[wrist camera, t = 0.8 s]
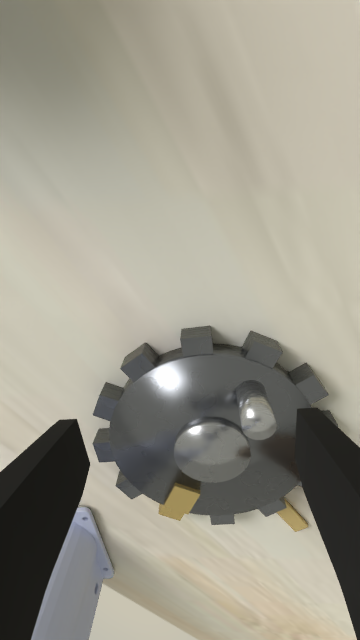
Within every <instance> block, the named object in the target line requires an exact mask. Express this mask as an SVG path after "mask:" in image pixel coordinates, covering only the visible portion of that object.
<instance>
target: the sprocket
mask: <svg viewBox="0 0 360 640" xmlns="http://www.w3.org/2000/svg"><path fill="white" fill-rule="evenodd" d="M180 340H181V346H182V348H179V349H175V350H172V351H169V352H167V353H165V354H162V355H160V356H158V355H157V354H156V353H155V352H154V351H153V350H152V349H151V348H150V347H149V345H148V344H147V343H144V344H143V345H141V346H140V347H139V348H137V349H136V350H134V351H133V352H132V353H130V354H129V355H127V356H126V357H125V359H124V361H123V363H122V366H121V368H120V369H121V370H122V371H123V372H124V373H125V374H126V375H127V376H128V377H129V378H130V379H129V381H128V382H127V384H126V385H125V386H124V388H121V387H118V386H115V385H112V384H109V383H107V382H106V383H105V385H104V387H103V389H102V391H101V393H100V396H99V399H98V401H97V404H96V407H95V410H94V413H93V415H94V416H97V417H99V418H102V419H105V420H108V421H111V422H110V428H106V429H99V430H98V432H97V434H96V437H95V439H94V442H93V446H94V449H95V452H96V455H97V457H98V460H99V462H113V461H115V462H116V464H117V466H118V467H119V469H120V472H119V475H118V479H117V482H116V487H118V488H119V489H120V490H121V491H122V492H123V493H125V494H126V495H127V496H128V497H129V498H130V499H133V498H135V497H137V496H139V495H141V494H144V495H146V496H147V497H149V498H151V499H152V500H154V501H156V502H158V503H160V506H159V514H160V515H163V516H166V517H170V518H173V519H176V520H179V521H180V520H181V518H182V517H183V515H184V513H185V514H189V513H193V514H200V515H210V518H211V524H212V525H220V524H235V522H234V514H238V513H243V512H247V511H251V510H255V509H259V510H260V511H261V512H262V513H263V514H264V515H265V516H266V517H267V516H269V515H271V514H274V513H276V512H278V511H281V510H283V509H285V508H287V507H286V503H285V499H284V495H285V494H287V493H288V492H290V491H291V490H292V489H293V488H294V487H295V486H297V485H299V486H302V483H301V480H300V476H299V472H298V468H297V465H296V461H295V439H296V418H297V409H299V408H311V406H310V405H311V404H312V403H314V402H316V401H318V400H320V399H322V398H324V397H326V396H327V395H328V393H327V391H326V390H325V388H324V387H323V385H322V383H321V382H320V380H319V379H318V378H317V376H316V375H315V374H314V372H313V371H312V370H311V368H310V367H309V366H308V364H307V363H305V364H303V365H301V366H300V367H298V368H296V369H294V370H293V371H291V372H288V371H286V370H285V369H284V368H283V367H282V366H280V365H279V364H278V363H276V362H277V360H278V359H279V357H280V356H281V354H282V350H281V348H280V346H279V344H278V342H277V341H276V340H273V339H271V338H268V337H266V336H263V335H260V334H258V333H255V332H253V331H250V333H249V335H248V337H247V339H246V341H245V342H244V344H243V346H242V347H237V346H232V345H224V344H213V343H212V335H211V327H210V326H204V327H195V328H187V329H182V330H181V338H180ZM321 412H322V413H323V414H325V415H326V416H327V417H328V418H329V419H330V420H331V421H332V422H333V423H334V424H335V425H336V426H337V427H338V424H337V423H336V421H335V419H334V417H333V416H332V414H331V412H330V411H321Z"/></svg>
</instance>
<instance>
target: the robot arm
mask: <svg viewBox="0 0 360 640" xmlns="http://www.w3.org/2000/svg"><path fill="white" fill-rule="evenodd" d="M295 461H296V465H297V468H298V472H299V476H300V480H301V483H302V487H303V490H304V493H305V495H306V498H307V501H308V503H309V506H310V508H311V511H312V514H313V516H314V519H315V521H316V524H317V526H318V529H319V531H320V534H321V536H322V539H323V542H324V544H325V547H326V549H327V552H328V554H329V557H330V559H331V562H332V564H333V567H334V569H335V572H336V575H337V578H338V580H339V583H340V586H341V589H342V592H343V595H344V598H345V601H346V604H347V608H348V611H349V614H350V617H351V621H352V624H353V627H354V631H355V634H356V637H357V640H360V448H359V447H358V446H357V445H356V444H355V443H354V442H353V441H352V440H351V439H350V438H349V437H348V436H346V435H345V434H344V433H343V432H342V431H341V430H340V429H339V428H338V427H337V426H336V425H335V424H334V423H333V422H332V421H331V420H330V419H329V418H328V417H327V416H326V415H325V414H323V413H322V412H321V411H320V410H319V409H318V408H299V409H297V418H296V439H295ZM89 467H90V462H89V458H88V455H87V452H86V448H85V445H84V442H83V438H82V435H81V432H80V428H79V425H78V422H77V419H68V420H59V421H58V422H56V423H55V424H54V425H53V426H52V427H50V428H49V429H48V430H47V431H46V432H45V433H44V434H43V435H41V436H40V437H39V438H38V439H37V440H36V441H35V442H34V443H33V444H32V445H30V446H29V447H28V448H27V449H26V450H25V451H24V452H23V453H21V454H20V455H19V456H18V457H17V458H16V459H15V460H14V461H12V462H11V463H10V464H9V465H8V466H7V467H6V468H5V469H3V470H2V471H1V472H0V640H89V636H90V632H91V628H92V623H93V619H94V615H95V611H96V607H97V603H98V599H99V594H100V591H101V587H102V582H103V579H110V578H112V577H113V576H114V569H113V567H112V564H111V562H110V559H109V556H108V554H107V551H106V549H105V546H104V543H103V541H102V538H101V536H100V533H99V530H98V528H97V525H96V523H95V520H94V517H93V515H92V512H91V510H90V509H89V508H87V507H78V505H79V502H80V500H81V497H82V494H83V490H84V487H85V483H86V479H87V475H88V471H89Z"/></svg>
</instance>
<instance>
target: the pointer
mask: <svg viewBox="0 0 360 640" xmlns="http://www.w3.org/2000/svg"><path fill="white" fill-rule="evenodd" d="M284 499H285V498H284ZM285 503H286V507H287V508H285V509H283V510H281V511H278V512H277V513H278V514H279V515H280V516H281V517H282V518H283V520H284V521H285V522H286V523H287V524H288V525H289V526H290V527H291V528H292V529H293V530H294V531H295V532H297V531H299V530H302V529H304V528H307V527H308V524H307V522H306V521H305V520H304V519H303V518H302V517H301V516H300V515H299V514H298V513H297V511H296V510H295V509H294V508H293V507H292V506H291V505H290V504H289V503H288V502H287V501H286V500H285Z"/></svg>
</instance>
